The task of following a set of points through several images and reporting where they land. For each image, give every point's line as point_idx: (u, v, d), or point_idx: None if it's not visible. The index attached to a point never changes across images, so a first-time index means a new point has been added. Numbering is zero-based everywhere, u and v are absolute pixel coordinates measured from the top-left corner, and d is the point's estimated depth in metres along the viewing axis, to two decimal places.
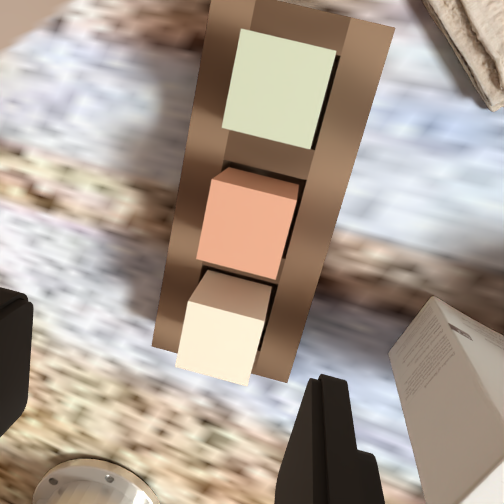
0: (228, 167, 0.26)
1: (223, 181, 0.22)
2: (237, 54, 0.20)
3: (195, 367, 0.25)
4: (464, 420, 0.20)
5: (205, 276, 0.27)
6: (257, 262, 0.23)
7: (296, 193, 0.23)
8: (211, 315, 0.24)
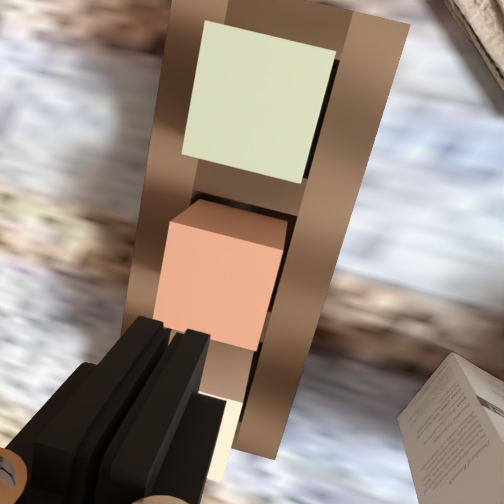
0: (199, 199, 0.21)
1: (185, 224, 0.16)
2: (200, 55, 0.14)
3: None
4: None
5: (171, 334, 0.22)
6: (232, 329, 0.17)
7: (283, 237, 0.18)
8: None
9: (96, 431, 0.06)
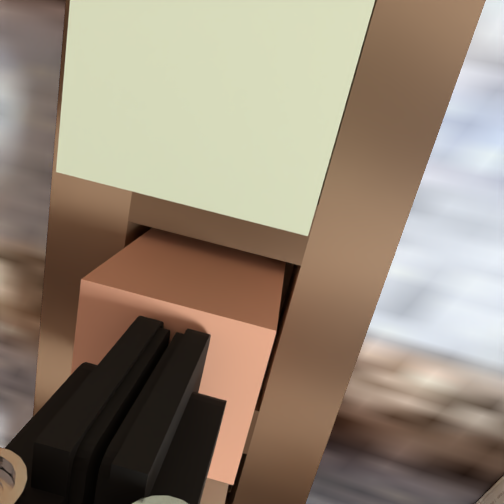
0: None
1: (109, 283, 0.10)
2: None
3: None
4: None
5: None
6: None
7: (278, 296, 0.11)
8: None
9: (96, 431, 0.06)
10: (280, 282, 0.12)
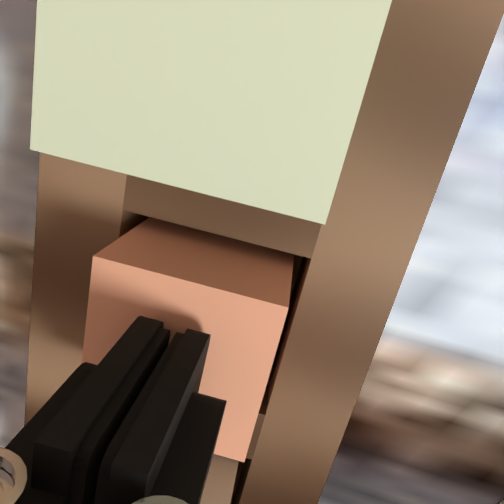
0: None
1: (121, 260, 0.10)
2: None
3: None
4: None
5: None
6: None
7: (289, 275, 0.11)
8: None
9: (96, 431, 0.06)
10: (290, 262, 0.12)
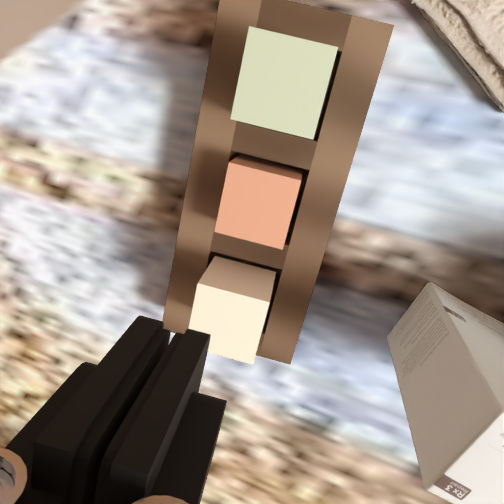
0: (241, 154, 0.30)
1: (238, 164, 0.25)
2: (245, 50, 0.21)
3: None
4: (456, 392, 0.22)
5: (213, 261, 0.29)
6: (267, 234, 0.26)
7: (300, 175, 0.27)
8: (219, 297, 0.25)
9: (96, 431, 0.06)
10: (301, 173, 0.28)
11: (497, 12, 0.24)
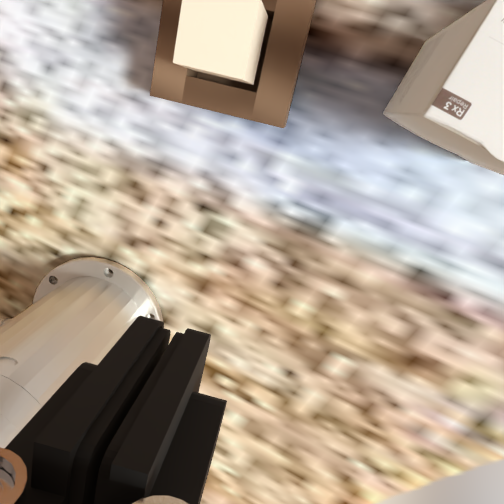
0: None
1: None
2: None
3: (192, 61, 0.26)
4: (454, 40, 0.21)
5: None
6: None
7: None
8: None
9: (96, 431, 0.06)
10: None
11: None
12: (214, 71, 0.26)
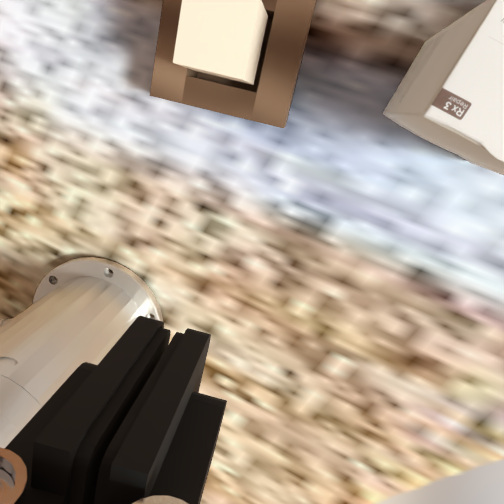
0: None
1: None
2: None
3: (192, 61, 0.26)
4: (454, 39, 0.21)
5: None
6: None
7: None
8: None
9: (96, 431, 0.06)
10: None
11: None
12: (214, 71, 0.26)
